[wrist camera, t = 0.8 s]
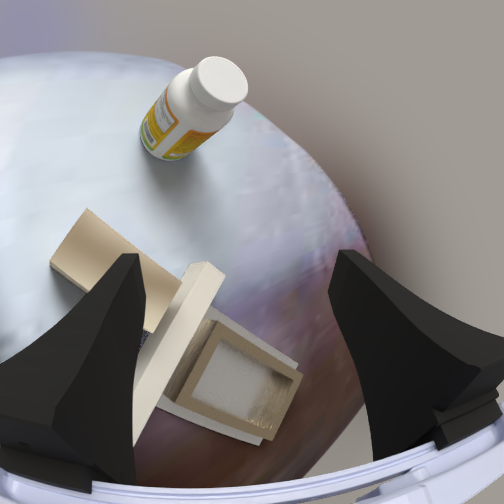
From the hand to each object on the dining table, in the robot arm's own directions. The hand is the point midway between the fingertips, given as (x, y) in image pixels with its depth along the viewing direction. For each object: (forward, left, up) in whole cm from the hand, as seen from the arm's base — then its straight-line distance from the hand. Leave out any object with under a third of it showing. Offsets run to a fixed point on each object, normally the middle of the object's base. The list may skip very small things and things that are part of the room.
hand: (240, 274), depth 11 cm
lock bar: (-1, +2, -15) cm, 15 cm away
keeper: (-3, -13, -15) cm, 20 cm away
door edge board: (-6, -5, -15) cm, 17 cm away
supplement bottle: (+12, +5, -15) cm, 20 cm away
